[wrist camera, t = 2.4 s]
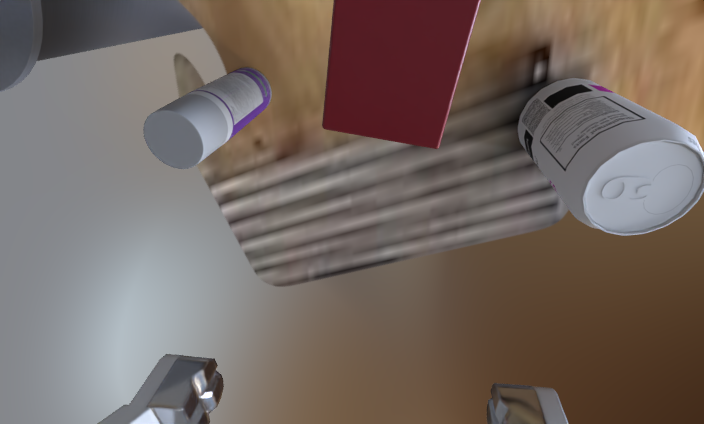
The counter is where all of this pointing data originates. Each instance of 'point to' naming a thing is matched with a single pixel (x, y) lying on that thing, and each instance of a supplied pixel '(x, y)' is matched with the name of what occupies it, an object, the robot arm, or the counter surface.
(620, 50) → the counter surface
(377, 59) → the maroon rod
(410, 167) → the counter surface
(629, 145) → the supplement can
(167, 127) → the container
